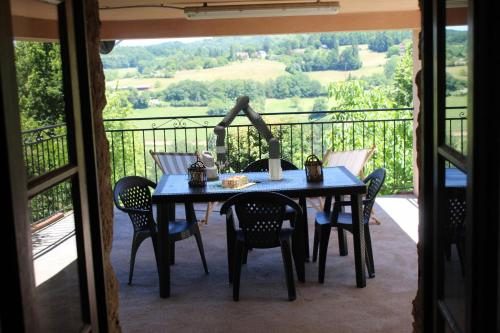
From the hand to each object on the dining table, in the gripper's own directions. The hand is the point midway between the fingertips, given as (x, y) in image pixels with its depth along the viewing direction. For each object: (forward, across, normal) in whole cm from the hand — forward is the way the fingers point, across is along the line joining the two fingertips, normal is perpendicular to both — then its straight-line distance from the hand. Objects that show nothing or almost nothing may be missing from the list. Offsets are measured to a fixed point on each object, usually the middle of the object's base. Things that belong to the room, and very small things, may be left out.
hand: (222, 173), depth 538 cm
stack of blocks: (+5, -7, +1) cm, 9 cm away
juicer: (+9, +29, -19) cm, 35 cm away
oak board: (+9, -16, +1) cm, 19 cm away
